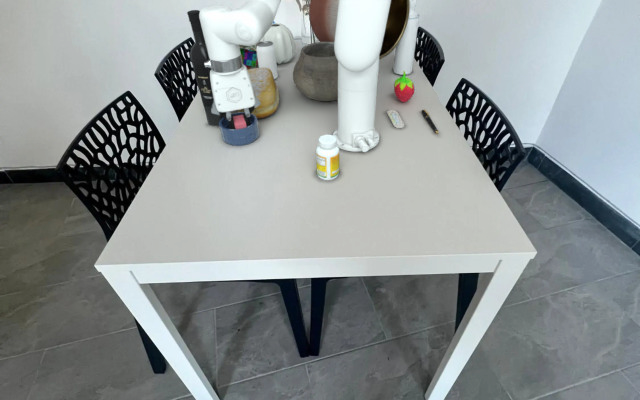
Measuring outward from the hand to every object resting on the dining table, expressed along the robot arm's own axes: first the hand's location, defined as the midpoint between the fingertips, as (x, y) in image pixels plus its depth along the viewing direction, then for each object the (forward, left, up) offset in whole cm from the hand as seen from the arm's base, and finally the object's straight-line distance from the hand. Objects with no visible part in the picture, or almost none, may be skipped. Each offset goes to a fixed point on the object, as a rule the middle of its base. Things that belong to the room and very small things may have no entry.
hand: (241, 129), depth 99 cm
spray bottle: (+24, -63, -2) cm, 67 cm away
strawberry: (+1, -51, -2) cm, 51 cm away
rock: (+68, -17, -1) cm, 70 cm away
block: (+48, -8, +2) cm, 49 cm away
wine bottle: (+11, +5, -2) cm, 12 cm away
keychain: (-8, -44, -2) cm, 44 cm away
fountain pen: (-13, -52, -2) cm, 53 cm away
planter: (+38, -43, +18) cm, 60 cm away
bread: (+19, -8, -2) cm, 21 cm away
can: (+38, -16, -2) cm, 41 cm away
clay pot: (+15, -30, -2) cm, 34 cm away
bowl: (-1, 0, -2) cm, 2 cm away
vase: (+53, -23, -2) cm, 58 cm away
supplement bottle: (-26, -17, -2) cm, 31 cm away
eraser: (0, 0, 0) cm, 0 cm away
